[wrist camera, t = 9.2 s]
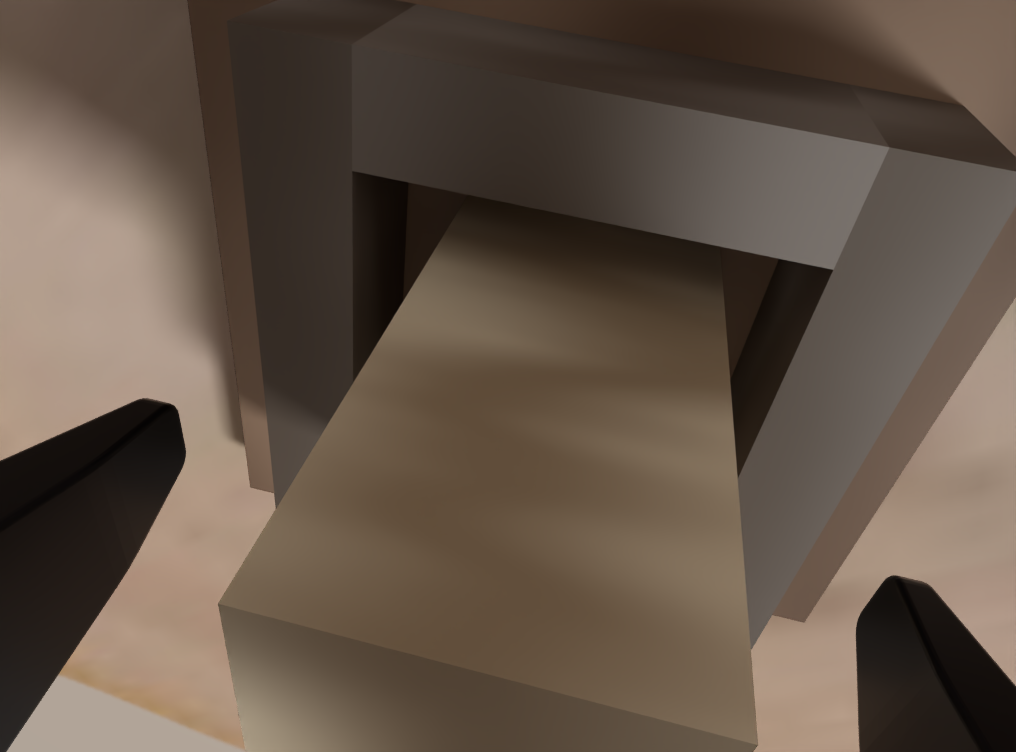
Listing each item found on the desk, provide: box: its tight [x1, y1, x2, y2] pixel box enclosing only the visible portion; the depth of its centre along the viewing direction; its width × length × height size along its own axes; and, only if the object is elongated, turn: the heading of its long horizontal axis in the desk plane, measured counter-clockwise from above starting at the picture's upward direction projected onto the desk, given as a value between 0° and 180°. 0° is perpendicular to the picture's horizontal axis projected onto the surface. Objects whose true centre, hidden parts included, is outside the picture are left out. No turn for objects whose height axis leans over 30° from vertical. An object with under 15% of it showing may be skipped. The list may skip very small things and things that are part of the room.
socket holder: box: [187, 0, 1016, 649], centre depth 12 cm, size 13×13×4 cm
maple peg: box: [218, 195, 758, 752], centre depth 10 cm, size 4×4×8 cm
